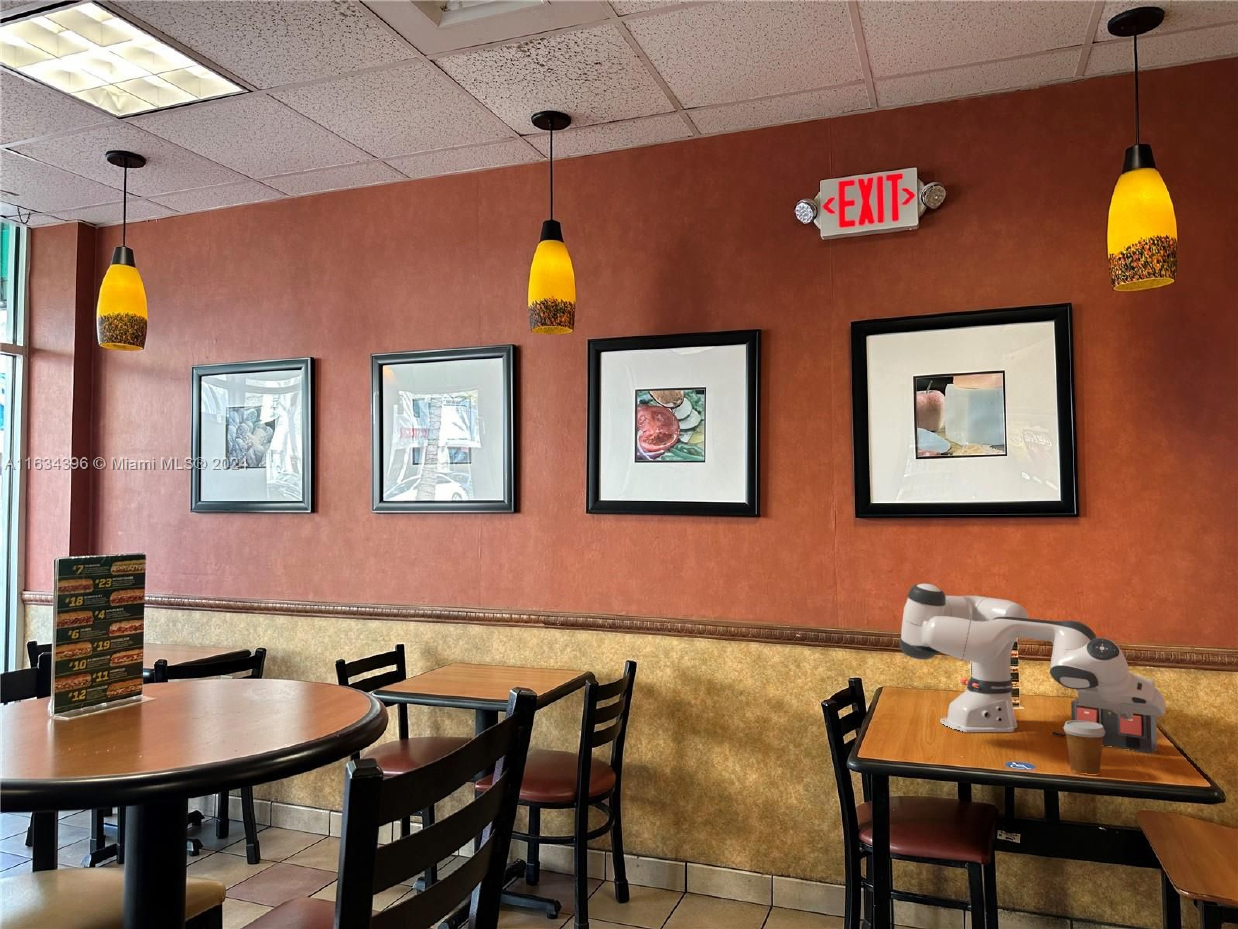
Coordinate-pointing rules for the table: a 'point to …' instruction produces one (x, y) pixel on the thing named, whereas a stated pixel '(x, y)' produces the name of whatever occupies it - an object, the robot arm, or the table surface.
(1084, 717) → the rocker
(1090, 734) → the disposable coffee cup
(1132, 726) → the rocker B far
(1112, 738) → the double rocker switch box
